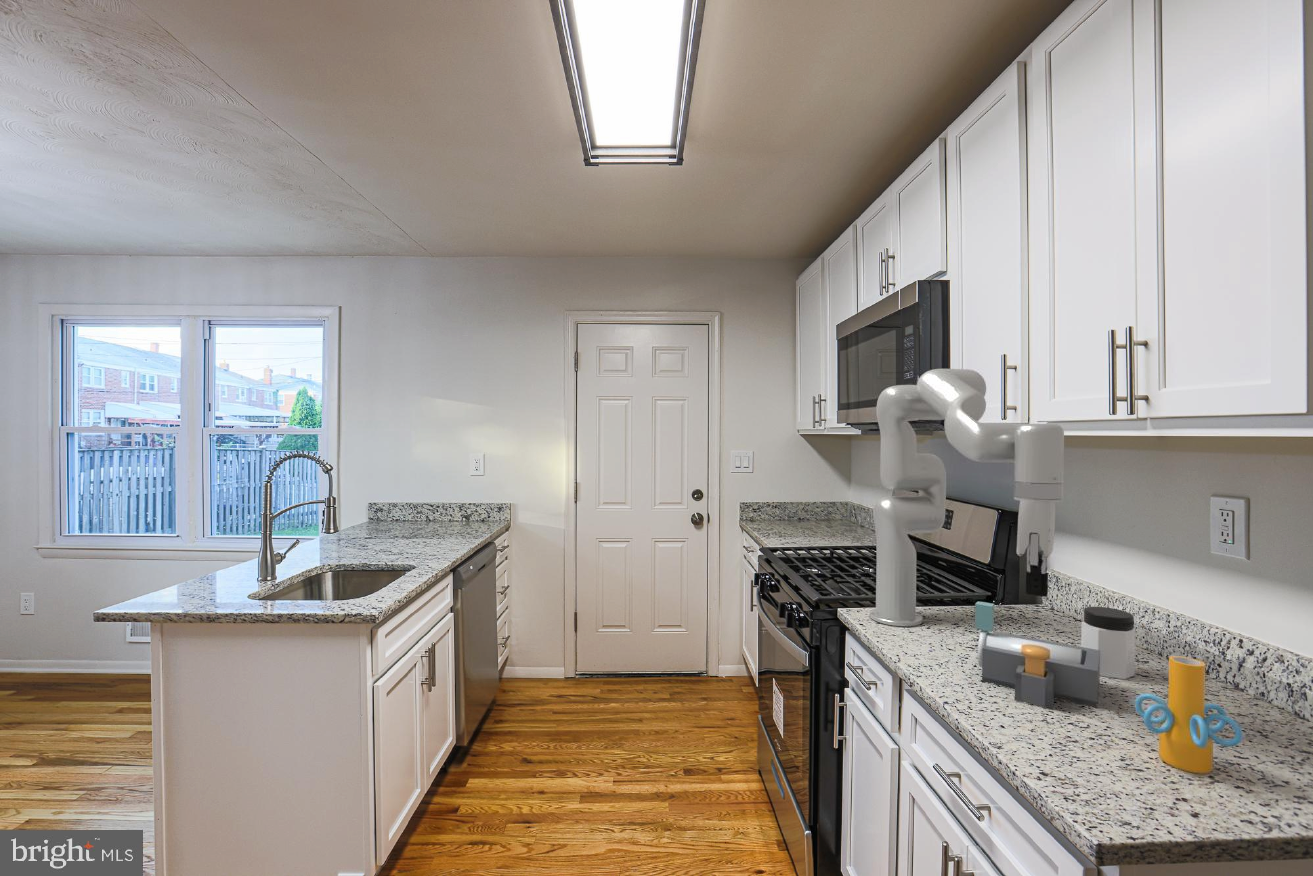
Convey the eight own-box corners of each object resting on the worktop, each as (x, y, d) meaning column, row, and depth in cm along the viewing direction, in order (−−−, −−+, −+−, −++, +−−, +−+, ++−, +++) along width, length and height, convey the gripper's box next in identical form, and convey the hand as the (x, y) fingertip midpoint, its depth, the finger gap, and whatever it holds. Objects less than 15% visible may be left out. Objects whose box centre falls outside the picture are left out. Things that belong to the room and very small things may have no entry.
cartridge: (979, 659, 128) (979, 598, 128) (1081, 680, 117) (1082, 614, 117) (971, 669, 122) (972, 606, 122) (1079, 693, 112) (1080, 624, 112)
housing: (993, 662, 129) (994, 631, 129) (1099, 684, 118) (1100, 650, 118) (976, 691, 114) (976, 656, 114) (1095, 719, 103) (1096, 681, 103)
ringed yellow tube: (1251, 771, 88) (1253, 666, 88) (1231, 795, 82) (1233, 683, 82) (1146, 736, 98) (1148, 642, 98) (1121, 755, 92) (1123, 655, 92)
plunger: (1022, 678, 114) (1023, 642, 114) (1050, 684, 111) (1051, 648, 111) (1019, 686, 111) (1019, 649, 111) (1048, 693, 108) (1048, 654, 108)
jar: (1122, 683, 119) (1123, 621, 119) (1074, 669, 126) (1075, 610, 125) (1140, 673, 124) (1141, 613, 124) (1094, 660, 130) (1095, 604, 130)
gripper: (1019, 488, 119) (1018, 583, 119) (1007, 494, 107) (1006, 599, 107) (1066, 490, 114) (1065, 589, 114) (1059, 497, 102) (1057, 607, 103)
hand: (1036, 594), depth 111 cm, fingers closed
